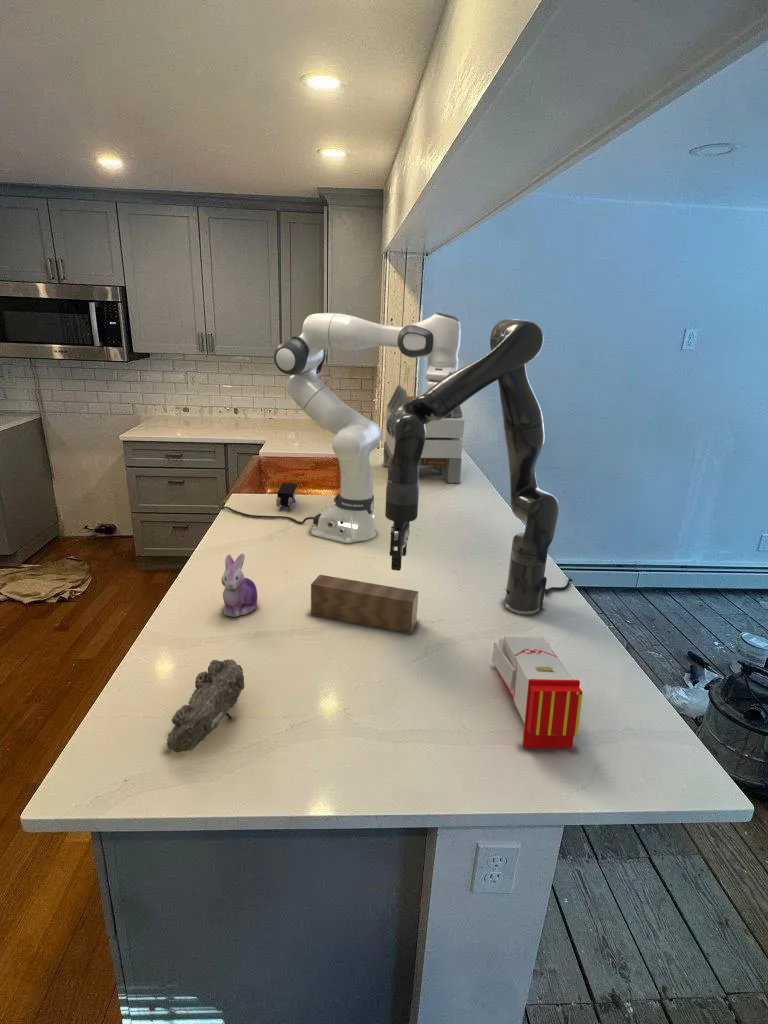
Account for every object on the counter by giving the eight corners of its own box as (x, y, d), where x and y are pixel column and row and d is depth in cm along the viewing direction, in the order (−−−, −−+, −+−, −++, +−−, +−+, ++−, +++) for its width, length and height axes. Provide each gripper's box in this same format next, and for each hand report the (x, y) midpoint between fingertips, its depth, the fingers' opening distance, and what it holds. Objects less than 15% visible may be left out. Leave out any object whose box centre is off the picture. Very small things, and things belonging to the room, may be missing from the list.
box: (310, 614, 145) (310, 584, 142) (319, 604, 151) (319, 574, 148) (410, 633, 139) (413, 602, 136) (416, 622, 144) (418, 591, 141)
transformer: (382, 463, 289) (386, 382, 275) (445, 464, 293) (451, 384, 279) (390, 482, 257) (394, 392, 243) (460, 483, 261) (468, 394, 247)
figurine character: (293, 515, 216) (298, 499, 229) (292, 497, 212) (297, 481, 226) (275, 515, 216) (281, 498, 229) (274, 497, 212) (280, 481, 226)
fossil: (192, 660, 117) (244, 628, 112) (224, 691, 120) (276, 661, 115) (142, 746, 98) (202, 712, 93) (182, 779, 101) (242, 748, 96)
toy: (540, 620, 128) (592, 687, 99) (535, 674, 131) (584, 755, 102) (487, 619, 128) (523, 686, 99) (483, 673, 131) (517, 754, 101)
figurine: (226, 621, 140) (223, 566, 135) (217, 603, 148) (214, 550, 143) (264, 614, 144) (262, 560, 139) (253, 596, 153) (251, 545, 148)
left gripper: (437, 367, 177) (434, 411, 182) (424, 373, 159) (420, 422, 163) (457, 369, 176) (453, 413, 181) (447, 375, 157) (442, 425, 162)
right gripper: (414, 509, 123) (410, 577, 129) (422, 490, 136) (418, 552, 142) (380, 506, 124) (378, 573, 130) (391, 487, 138) (388, 549, 143)
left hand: (437, 418), depth 172 cm, fingers open, 8 cm apart
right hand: (398, 562), depth 136 cm, fingers open, 8 cm apart
